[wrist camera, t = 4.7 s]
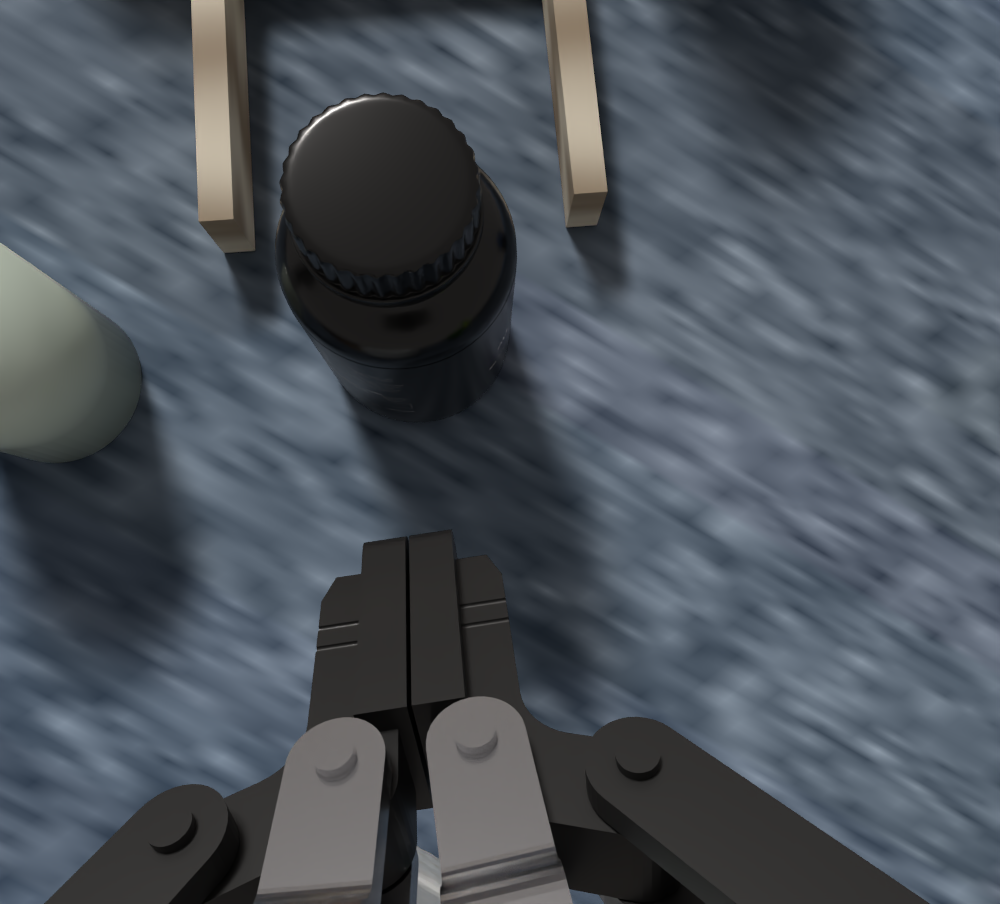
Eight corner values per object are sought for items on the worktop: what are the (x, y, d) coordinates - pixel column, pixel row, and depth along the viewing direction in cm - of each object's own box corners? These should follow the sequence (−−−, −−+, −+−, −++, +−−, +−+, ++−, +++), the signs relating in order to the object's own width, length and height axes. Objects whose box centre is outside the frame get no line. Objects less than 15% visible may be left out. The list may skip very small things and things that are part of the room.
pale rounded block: (61, 496, 30) (-67, 471, 23) (-56, 392, 30) (-215, 337, 23) (175, 374, 31) (85, 314, 24) (59, 275, 31) (-62, 188, 24)
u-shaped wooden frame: (596, 225, 32) (607, 191, 29) (223, 253, 31) (198, 221, 29) (562, -77, 34) (570, -135, 31) (211, -55, 33) (187, -112, 30)
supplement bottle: (542, 369, 31) (579, 238, 19) (384, 458, 30) (320, 382, 18) (452, 219, 32) (433, 6, 20) (296, 304, 31) (180, 135, 19)
